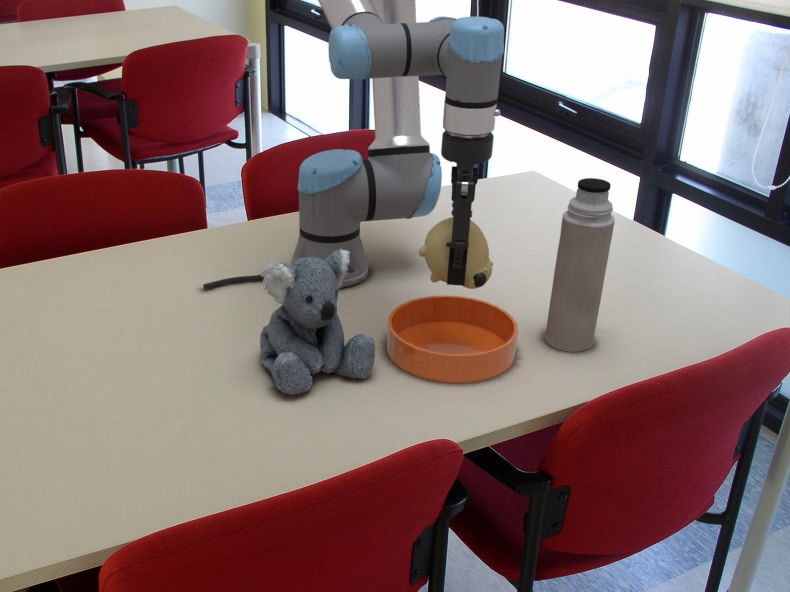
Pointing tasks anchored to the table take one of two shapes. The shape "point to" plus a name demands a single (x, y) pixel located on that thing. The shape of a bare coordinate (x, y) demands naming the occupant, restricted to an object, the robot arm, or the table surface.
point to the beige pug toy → (439, 253)
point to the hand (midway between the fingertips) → (456, 269)
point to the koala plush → (310, 324)
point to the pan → (451, 339)
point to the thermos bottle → (580, 267)
